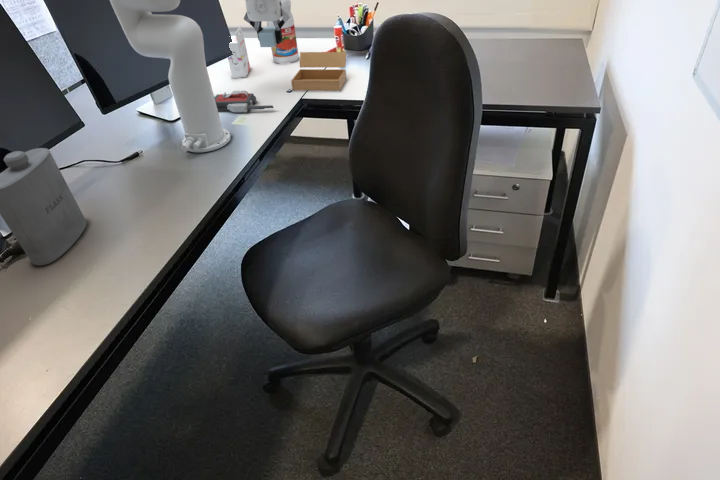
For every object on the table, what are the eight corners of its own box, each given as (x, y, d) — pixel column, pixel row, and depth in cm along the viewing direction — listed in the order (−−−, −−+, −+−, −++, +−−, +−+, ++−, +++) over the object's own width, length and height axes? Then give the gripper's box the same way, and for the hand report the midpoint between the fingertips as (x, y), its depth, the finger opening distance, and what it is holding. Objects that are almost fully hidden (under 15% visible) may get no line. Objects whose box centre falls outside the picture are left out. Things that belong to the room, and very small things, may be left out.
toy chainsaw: (207, 114, 144) (273, 113, 142) (203, 100, 141) (270, 98, 139) (216, 102, 150) (279, 100, 148) (213, 88, 148) (277, 86, 146)
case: (274, 47, 148) (272, 33, 145) (260, 47, 148) (257, 33, 146) (281, 39, 153) (279, 26, 150) (268, 40, 154) (265, 26, 151)
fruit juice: (292, 53, 183) (279, -30, 165) (303, 60, 176) (291, -27, 159) (269, 59, 179) (254, -26, 162) (280, 66, 173) (265, -22, 155)
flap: (299, 67, 159) (299, 67, 159) (345, 67, 156) (345, 67, 156) (300, 52, 158) (300, 52, 159) (345, 52, 155) (346, 52, 156)
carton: (301, 79, 161) (299, 69, 159) (346, 79, 158) (345, 69, 156) (292, 91, 154) (291, 80, 152) (339, 91, 151) (338, 80, 149)
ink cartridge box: (237, 69, 173) (227, 26, 164) (250, 68, 173) (241, 25, 163) (231, 78, 166) (221, 33, 157) (246, 77, 166) (236, 32, 157)
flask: (55, 266, 92) (-1, 176, 80) (27, 266, 93) (-33, 177, 81) (95, 220, 104) (52, 135, 91) (70, 219, 105) (23, 135, 92)
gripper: (227, -19, 138) (241, 47, 149) (283, -21, 135) (293, 46, 146) (237, -25, 143) (249, 39, 155) (291, -27, 140) (300, 38, 152)
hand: (271, 42), depth 150 cm, fingers closed on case, 4 cm apart
